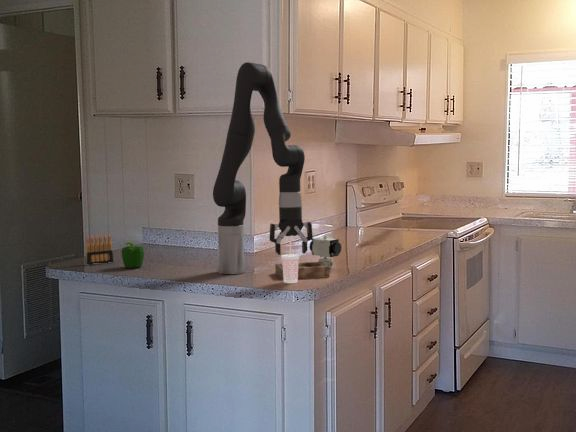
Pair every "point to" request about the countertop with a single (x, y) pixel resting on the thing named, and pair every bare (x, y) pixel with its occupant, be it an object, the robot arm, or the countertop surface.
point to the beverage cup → (290, 267)
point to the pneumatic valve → (325, 249)
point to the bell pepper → (132, 256)
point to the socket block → (306, 270)
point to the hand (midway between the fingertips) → (291, 253)
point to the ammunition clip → (99, 250)
